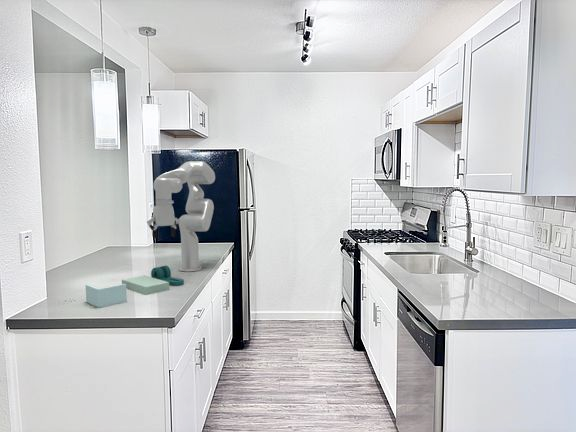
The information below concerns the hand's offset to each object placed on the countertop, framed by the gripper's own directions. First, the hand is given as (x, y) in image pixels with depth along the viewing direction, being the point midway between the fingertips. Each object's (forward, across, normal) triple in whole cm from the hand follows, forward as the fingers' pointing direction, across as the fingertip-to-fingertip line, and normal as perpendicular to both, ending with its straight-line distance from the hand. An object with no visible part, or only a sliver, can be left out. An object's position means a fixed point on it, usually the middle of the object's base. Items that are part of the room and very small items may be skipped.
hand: (164, 237), depth 214 cm
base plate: (+24, +12, +3) cm, 27 cm away
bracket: (+23, -1, +1) cm, 23 cm away
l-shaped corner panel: (+24, +33, +13) cm, 43 cm away
